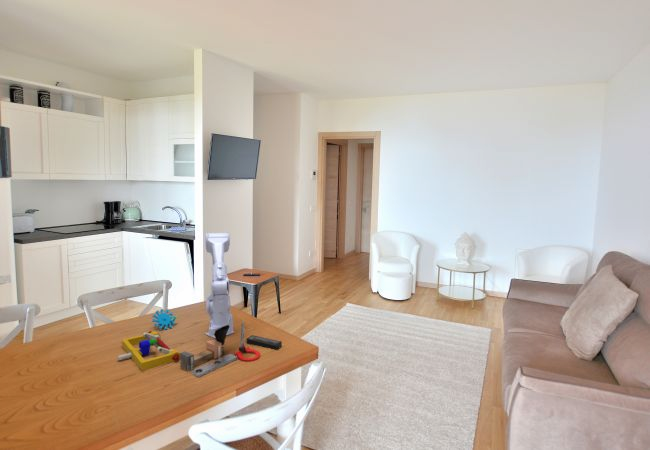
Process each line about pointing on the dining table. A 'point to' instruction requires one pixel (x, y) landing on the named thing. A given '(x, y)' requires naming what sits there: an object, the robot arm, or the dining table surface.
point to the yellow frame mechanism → (148, 350)
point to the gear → (164, 319)
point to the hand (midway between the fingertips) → (220, 344)
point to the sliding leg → (214, 348)
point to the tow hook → (245, 349)
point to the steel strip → (214, 365)
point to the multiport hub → (264, 342)
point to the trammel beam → (195, 359)
